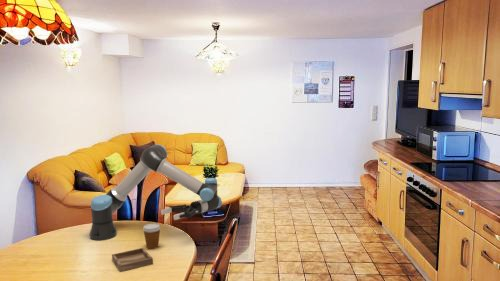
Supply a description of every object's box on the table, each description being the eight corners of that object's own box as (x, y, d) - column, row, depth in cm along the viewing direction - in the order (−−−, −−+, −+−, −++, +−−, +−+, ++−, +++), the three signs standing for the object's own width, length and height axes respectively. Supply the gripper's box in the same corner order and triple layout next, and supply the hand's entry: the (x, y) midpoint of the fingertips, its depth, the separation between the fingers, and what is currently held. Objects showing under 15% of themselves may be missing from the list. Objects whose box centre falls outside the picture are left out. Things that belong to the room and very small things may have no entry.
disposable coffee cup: (156, 250, 218) (156, 229, 216) (140, 249, 220) (139, 228, 218) (164, 244, 227) (163, 223, 226) (148, 243, 229) (147, 222, 227)
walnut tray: (112, 260, 207) (112, 254, 206) (143, 253, 215) (142, 247, 215) (120, 272, 193) (120, 266, 193) (153, 264, 202) (152, 258, 201)
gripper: (211, 217, 233) (179, 226, 219) (187, 208, 252) (156, 216, 238) (210, 205, 232) (179, 213, 218) (186, 196, 251) (156, 204, 237)
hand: (167, 215), depth 228 cm, fingers open, 13 cm apart
